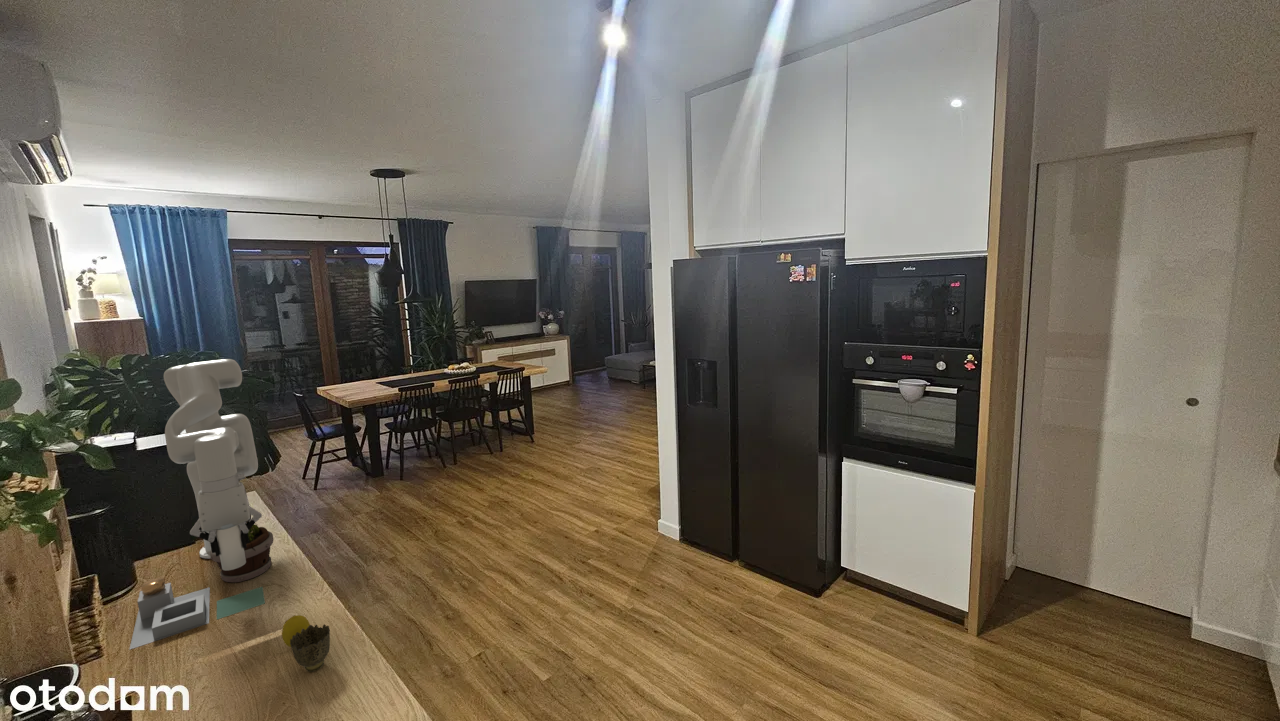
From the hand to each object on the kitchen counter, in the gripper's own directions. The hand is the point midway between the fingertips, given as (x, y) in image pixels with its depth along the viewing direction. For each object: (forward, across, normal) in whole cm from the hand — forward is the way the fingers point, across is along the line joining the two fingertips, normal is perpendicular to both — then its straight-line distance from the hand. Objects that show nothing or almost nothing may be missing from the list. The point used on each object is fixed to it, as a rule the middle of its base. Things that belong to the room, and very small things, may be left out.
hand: (231, 549), depth 138 cm
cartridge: (+4, 0, 0) cm, 4 cm away
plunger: (+14, +17, -11) cm, 24 cm away
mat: (+16, 0, 0) cm, 16 cm away
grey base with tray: (+16, +14, -5) cm, 22 cm away
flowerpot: (+16, -2, -17) cm, 24 cm away
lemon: (+16, -10, +29) cm, 35 cm away
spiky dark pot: (+17, -12, +39) cm, 44 cm away
